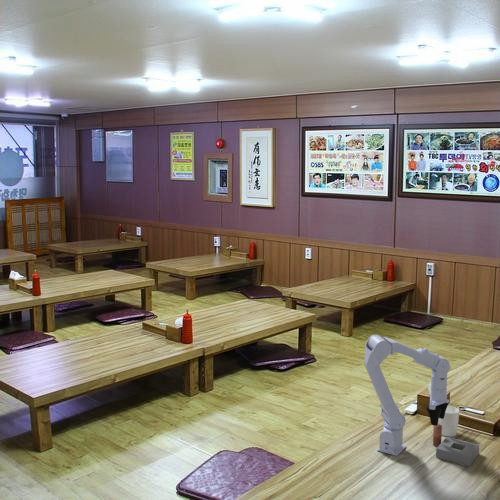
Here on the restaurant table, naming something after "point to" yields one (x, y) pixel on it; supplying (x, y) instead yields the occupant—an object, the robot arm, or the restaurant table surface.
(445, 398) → the robot arm
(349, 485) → the restaurant table surface
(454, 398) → the restaurant table surface
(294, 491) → the restaurant table surface
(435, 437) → the pin
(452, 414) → the white cup
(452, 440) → the block
